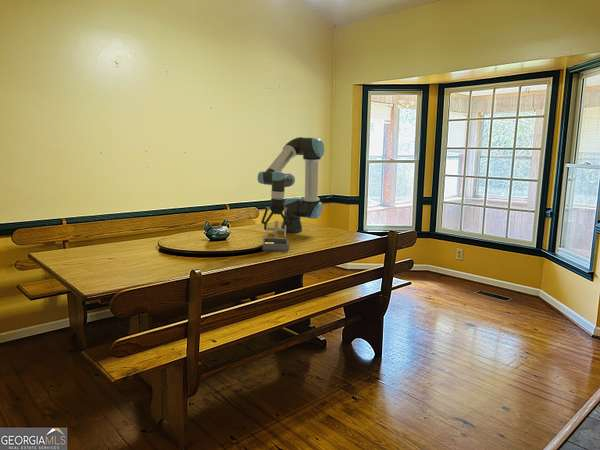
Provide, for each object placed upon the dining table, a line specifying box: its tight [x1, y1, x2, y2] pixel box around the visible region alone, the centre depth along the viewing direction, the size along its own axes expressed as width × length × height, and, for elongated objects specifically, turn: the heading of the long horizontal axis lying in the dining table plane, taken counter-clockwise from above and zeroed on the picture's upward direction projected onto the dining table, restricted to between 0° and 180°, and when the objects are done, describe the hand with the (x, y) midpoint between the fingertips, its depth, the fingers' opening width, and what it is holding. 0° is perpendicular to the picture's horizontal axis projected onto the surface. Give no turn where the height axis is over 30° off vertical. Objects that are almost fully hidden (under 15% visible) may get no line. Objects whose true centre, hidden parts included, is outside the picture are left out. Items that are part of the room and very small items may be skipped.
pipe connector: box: [267, 220, 285, 238], centre depth 261 cm, size 10×10×10 cm
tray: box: [262, 237, 290, 253], centre depth 263 cm, size 15×15×4 cm
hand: (275, 235), depth 262 cm, fingers closed on pipe connector, 10 cm apart
